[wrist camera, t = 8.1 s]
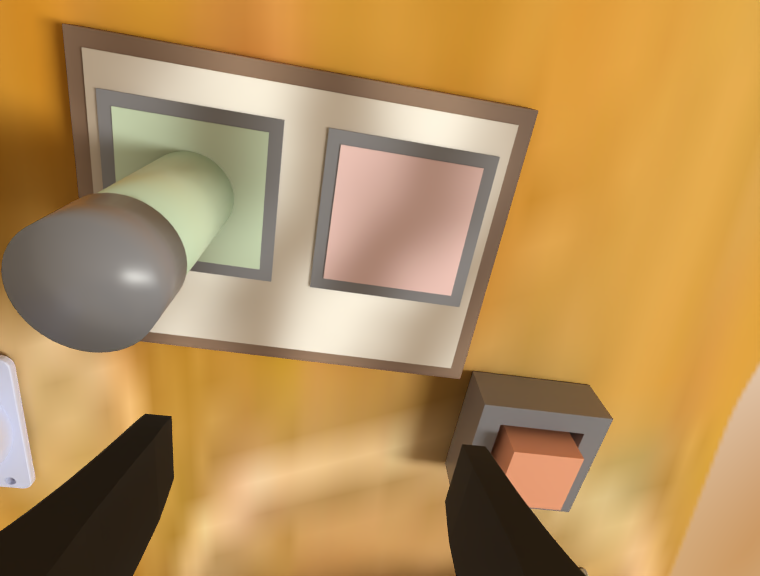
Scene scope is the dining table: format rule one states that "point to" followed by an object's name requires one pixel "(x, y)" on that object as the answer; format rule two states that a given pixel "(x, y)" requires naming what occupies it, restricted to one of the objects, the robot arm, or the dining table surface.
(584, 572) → the coffee box
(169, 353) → the dining table surface
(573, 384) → the button housing
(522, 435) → the button
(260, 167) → the colouring board
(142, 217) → the sage marker
